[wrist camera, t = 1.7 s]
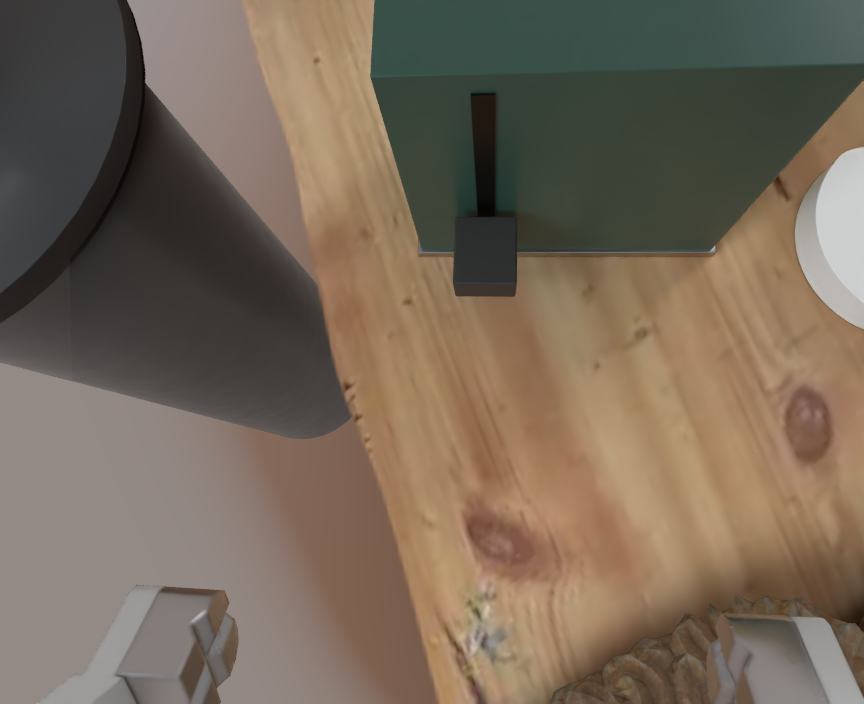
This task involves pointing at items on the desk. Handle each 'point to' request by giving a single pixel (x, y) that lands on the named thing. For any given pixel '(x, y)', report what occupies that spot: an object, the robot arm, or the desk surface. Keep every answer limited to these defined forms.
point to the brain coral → (692, 659)
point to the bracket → (835, 236)
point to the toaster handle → (485, 256)
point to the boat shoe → (862, 624)
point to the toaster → (605, 113)
